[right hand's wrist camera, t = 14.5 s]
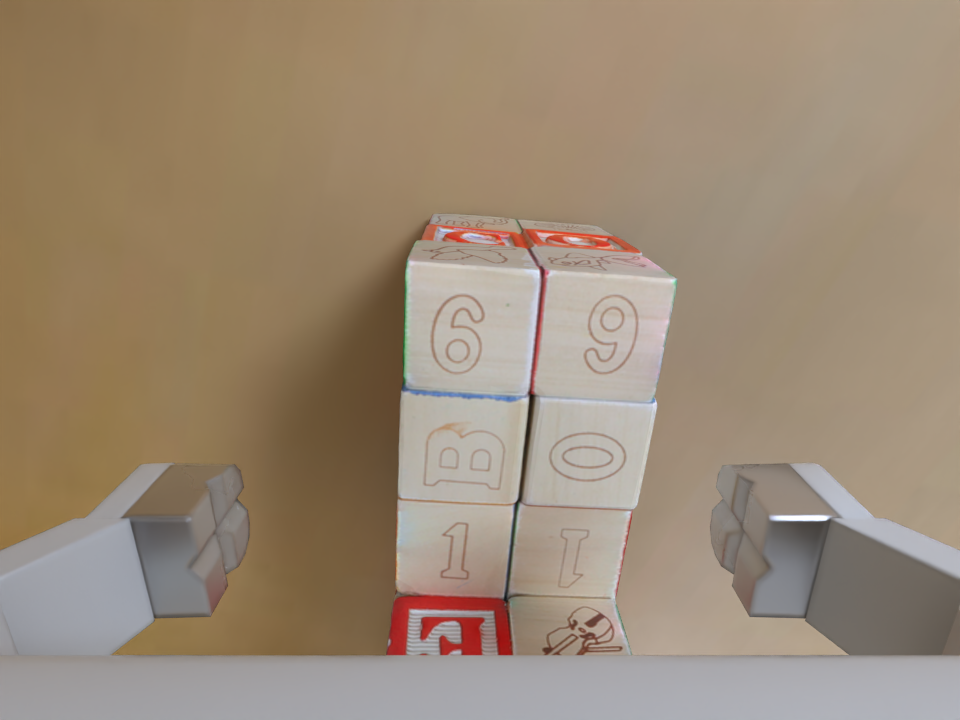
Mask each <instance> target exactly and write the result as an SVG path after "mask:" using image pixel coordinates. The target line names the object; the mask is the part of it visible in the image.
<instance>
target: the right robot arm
mask: <svg viewBox="0 0 960 720" xmlns="http://www.w3.org/2000/svg"><path fill="white" fill-rule="evenodd" d="M243 488H244V485H243V480H242V476H241V471H240V469H239V468H238V467H237V466H236V465H235V464H187V463H177V464H175V463H148V464H141V465H140V466H138V467H137V468H136V469H135V470H134V471H133V472H132V473H131V474H130V475H129V476H128V477H127V478H126V479H125V480H124V481H123V482H122V483H121V484H120V485H119V486H118V487H117V488H116V489H115V490H114V491H112V492H111V493H110V494H109V495H108V496H107V497H106V498H105V499H104V500H103V501H102V502H101V503H100V504H99V505H98V506H97V507H96V508H95V509H94V510H93V511H92V512H91V513H90V514H89V515H88V516H86V517H85V518H74V519H72V520H70V521H67V522H65V523H63V524H60V525H58V526H56V527H53V528H51V529H49V530H46V531H44V532H42V533H39V534H37V535H35V536H32V537H30V538H28V539H25V540H23V541H21V542H19V543H16V544H14V545H12V546H9V547H7V548H5V549H2V550H0V720H960V550H958V549H955V548H953V547H951V546H948V545H946V544H944V543H941V542H939V541H937V540H934V539H932V538H930V537H927V536H925V535H923V534H921V533H918V532H916V531H914V530H911V529H909V528H907V527H904V526H902V525H900V524H897V523H895V522H893V521H890V520H888V519H886V518H875V517H874V516H873V515H871V514H870V513H869V512H868V511H867V510H866V509H865V508H864V507H863V506H862V505H861V504H860V503H859V502H858V501H857V500H856V499H855V498H854V497H853V496H852V495H851V494H850V493H849V492H848V491H847V490H846V489H845V488H843V487H842V486H841V485H840V484H839V483H838V482H837V481H836V480H835V479H834V478H833V477H832V476H831V475H830V474H829V473H828V472H827V471H826V470H825V469H824V468H823V467H822V466H821V465H818V464H815V463H790V464H749V465H724V466H722V468H721V470H720V472H719V474H718V479H717V485H716V488H717V490H718V491H719V493H720V494H721V496H722V497H723V499H722V501H721V502H720V503H719V504H718V505H717V506H716V507H715V508H714V509H713V510H712V516H711V524H710V531H711V542H712V546H713V549H714V552H715V556H716V557H717V559H718V561H719V563H720V565H721V566H722V567H723V568H725V569H726V570H728V571H729V572H731V573H732V574H734V577H733V583H732V587H733V588H734V590H735V592H736V594H737V595H738V597H739V599H740V601H741V602H742V604H743V606H744V608H745V609H746V611H747V613H748V615H749V616H750V617H776V618H806V619H805V621H806V622H807V623H809V624H810V625H811V626H813V627H814V628H815V629H816V630H818V631H819V632H820V633H822V634H823V635H824V636H826V637H827V638H828V639H829V640H831V641H832V642H833V643H835V644H836V645H837V646H838V647H840V648H841V649H842V650H844V651H845V652H846V653H847V654H849V655H111V654H113V653H114V652H115V651H117V650H118V649H119V648H120V647H122V646H123V645H124V644H126V643H127V642H128V641H130V640H131V639H132V638H133V637H135V636H136V635H137V634H139V633H140V632H141V631H142V630H144V629H145V628H146V627H148V626H149V625H150V624H152V623H153V622H154V621H155V620H154V618H183V617H211V615H212V613H213V611H214V610H215V608H216V606H217V604H218V602H219V601H220V599H221V597H222V595H223V594H224V592H225V590H226V588H227V587H228V583H227V578H226V574H228V573H229V572H231V571H232V570H234V569H235V568H237V567H238V566H239V565H240V563H241V561H242V559H243V557H244V555H245V553H246V549H247V545H248V540H249V528H250V522H249V515H248V510H247V509H246V508H245V507H244V506H243V505H242V504H241V503H240V502H239V501H238V499H237V497H238V496H239V494H240V493H241V491H242V490H243Z"/></svg>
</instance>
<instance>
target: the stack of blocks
mask: <svg viewBox="0 0 960 720" xmlns="http://www.w3.org/2000/svg"><path fill="white" fill-rule="evenodd" d="M676 288H677V279H676V278H675V277H673V276H672V275H671V274H669V273H668V272H666V271H665V270H663V269H662V268H660V267H659V266H657V265H656V264H654V263H653V262H652V261H650V260H649V259H647V258H645V257H643V255H642V252H640V251H639V250H638V249H636V248H635V247H633V246H631V245H630V244H628V243H626V242H625V241H623V240H621V239H619V238H617V237H615V236H614V235H612V234H610V233H608V232H606V231H604V230H603V229H601V228H599V227H597V226H594V225H582V224H569V223H556V222H544V221H531V220H516V219H510V218H501V217H490V216H477V215H462V214H433V215H432V217H431V219H430V222H429V225H427V226H426V228H425V230H424V232H423V235H422V238H421V240H420V241H416V242H415V243H414V245H413V248H412V249H411V251H410V254H409V256H408V258H407V261H406V269H405V301H404V340H403V384H402V389H401V397H400V420H399V459H398V499H397V510H396V517H397V520H396V573H395V582H396V594H395V597H394V599H393V608H392V615H391V624H390V631H389V638H388V644H387V653H386V655H632V652H631V649H630V646H629V643H628V639H627V636H626V633H625V630H624V627H623V623H622V620H621V617H620V614H619V611H618V608H617V605H616V602H615V598H616V595H617V590H618V585H619V580H620V575H621V569H622V564H623V559H624V554H625V549H626V544H627V539H628V534H629V529H630V524H631V519H632V510H633V509H634V508H635V507H636V506H637V504H638V500H639V495H640V490H641V485H642V480H643V475H644V471H645V466H646V461H647V456H648V451H649V446H650V441H651V436H652V430H653V425H654V420H655V415H656V410H657V403H656V399H655V398H654V395H655V392H656V388H657V384H658V380H659V375H660V370H661V365H662V359H663V353H664V349H665V344H666V339H667V335H668V330H669V323H670V318H671V314H672V309H673V304H674V299H675V294H676Z"/></svg>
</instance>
